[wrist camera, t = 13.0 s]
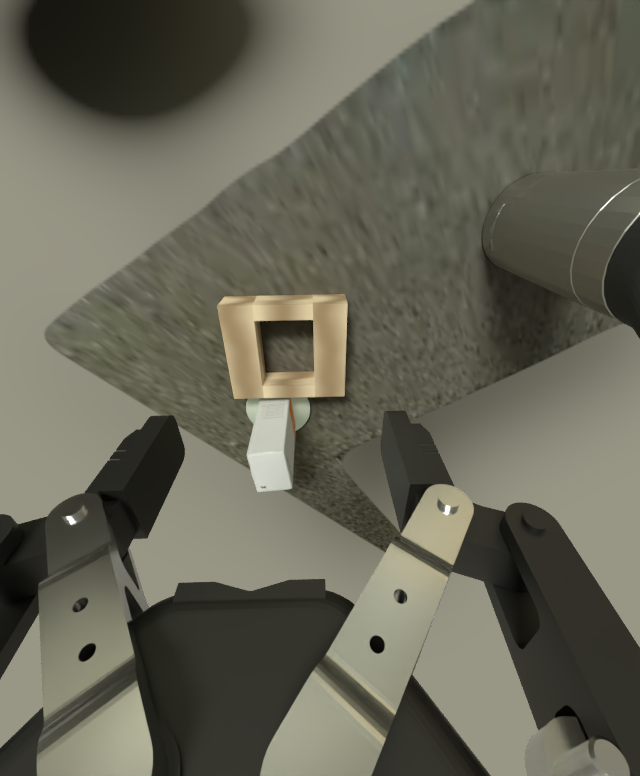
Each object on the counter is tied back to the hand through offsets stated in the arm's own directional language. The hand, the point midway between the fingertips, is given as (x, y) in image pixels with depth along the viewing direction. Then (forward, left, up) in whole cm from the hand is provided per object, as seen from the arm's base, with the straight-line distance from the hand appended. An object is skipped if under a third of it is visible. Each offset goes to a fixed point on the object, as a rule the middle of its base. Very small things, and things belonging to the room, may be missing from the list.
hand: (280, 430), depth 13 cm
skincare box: (+4, +19, -28) cm, 34 cm away
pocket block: (+2, +9, -28) cm, 29 cm away
